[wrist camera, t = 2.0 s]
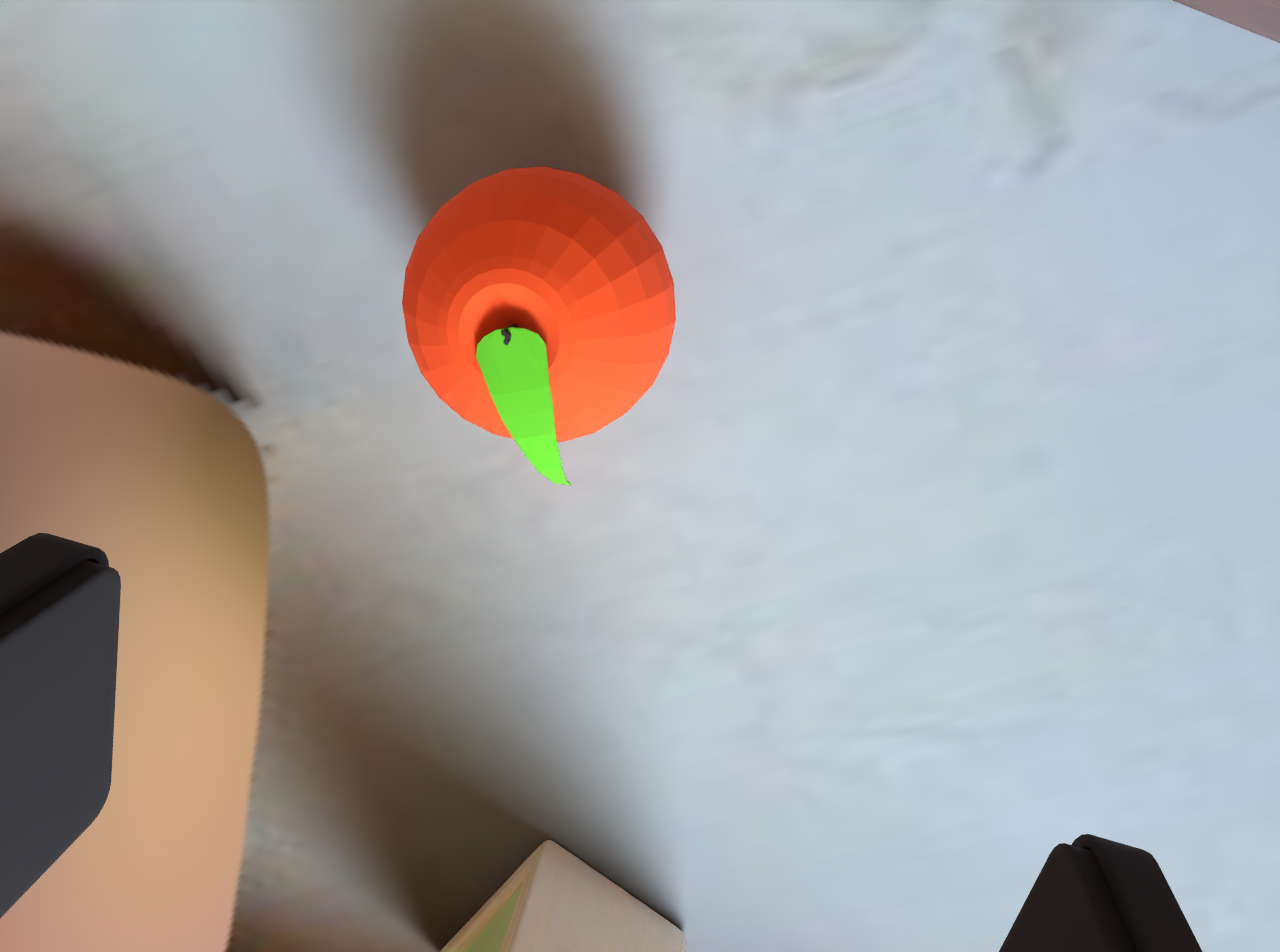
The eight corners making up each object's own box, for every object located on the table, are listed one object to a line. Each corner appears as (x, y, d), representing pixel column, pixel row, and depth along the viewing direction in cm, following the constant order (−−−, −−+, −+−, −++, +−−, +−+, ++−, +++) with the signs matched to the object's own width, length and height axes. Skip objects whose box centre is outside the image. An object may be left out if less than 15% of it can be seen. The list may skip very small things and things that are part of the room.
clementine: (713, 415, 29) (695, 505, 22) (493, 449, 30) (414, 544, 24) (662, 135, 26) (624, 144, 20) (423, 186, 28) (314, 210, 21)
